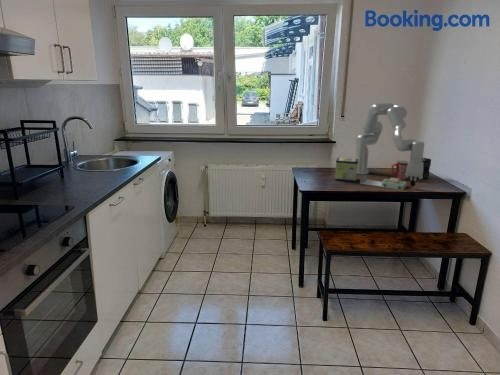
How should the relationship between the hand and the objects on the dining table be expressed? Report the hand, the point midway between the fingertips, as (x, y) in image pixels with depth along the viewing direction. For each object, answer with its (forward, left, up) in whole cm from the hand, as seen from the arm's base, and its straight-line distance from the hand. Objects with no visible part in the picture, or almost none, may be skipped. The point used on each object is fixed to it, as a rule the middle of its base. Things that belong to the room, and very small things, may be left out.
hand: (412, 186), depth 232 cm
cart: (-12, 0, -2) cm, 12 cm away
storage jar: (+1, +34, -2) cm, 34 cm away
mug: (-13, +22, -2) cm, 26 cm away
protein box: (-46, -1, -2) cm, 46 cm away
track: (-19, 0, -2) cm, 20 cm away
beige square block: (-12, 0, -1) cm, 12 cm away
